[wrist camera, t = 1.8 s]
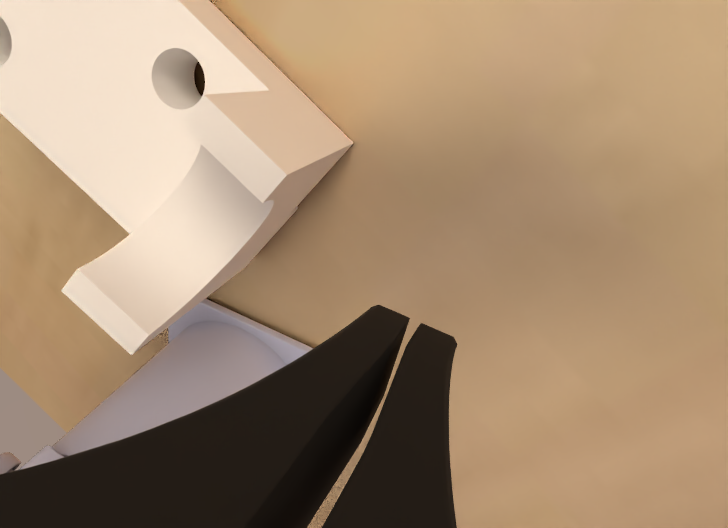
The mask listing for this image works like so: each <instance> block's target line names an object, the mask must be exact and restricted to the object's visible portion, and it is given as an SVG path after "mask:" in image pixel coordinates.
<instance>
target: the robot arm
mask: <svg viewBox="0 0 728 528" xmlns="http://www.w3.org/2000/svg"><path fill="white" fill-rule="evenodd" d="M409 319H410V318H408V317H406V316H404V315H402V314H399V313H397V312H395V311H392V310H390V309H388V308H385V307H383V306H381V305H376V306H373V307H371V308H370V309H369V310H368V311H366V312H365V313H364V314H363V315H361V316H360V317H359V318H357V319H356V320H355V321H353V322H352V323H351V324H349V325H348V326H347V327H345V328H344V329H342V330H341V331H339V332H338V333H337V334H335V335H334V336H332V337H331V338H329V339H328V340H326V341H325V342H323V343H322V344H320V345H318V346H317V347H315V348H311V347H309V346H307V345H305V344H303V343H301V342H298V341H296V340H294V339H292V338H290V337H288V336H285V335H283V334H281V333H279V332H277V331H275V330H272V329H270V328H268V327H266V326H264V325H262V324H260V323H257V322H255V321H253V320H251V319H249V318H247V317H244V316H242V315H240V314H238V313H236V312H234V311H231V310H229V309H227V308H225V307H223V306H221V305H218V304H216V303H214V302H212V301H210V300H208V299H204V300H203V301H201V302H200V303H199V304H197V305H196V306H195V307H194V308H192V309H191V310H190V311H188V312H187V313H186V314H184V315H183V316H182V317H181V318H179V319H178V320H177V321H175V322H174V323H173V324H172V325H170V326H169V327H168V344H167V345H166V346H165V347H164V348H163V349H162V350H161V351H159V352H158V353H157V354H156V355H155V356H154V357H153V358H152V359H150V360H149V361H148V362H147V363H146V364H145V365H144V366H142V367H141V368H140V369H139V370H138V371H137V372H136V373H135V374H133V375H132V376H131V377H130V378H129V379H128V380H127V381H126V382H124V383H123V384H122V385H121V386H120V387H119V388H118V389H116V390H115V391H114V392H113V393H112V394H111V395H110V396H109V397H107V398H106V399H105V400H104V401H103V402H102V403H101V404H99V405H98V406H97V407H96V408H95V409H94V410H93V411H92V412H90V413H89V414H88V415H87V416H86V417H85V418H84V419H82V420H81V421H80V422H79V423H78V424H77V425H76V426H75V427H73V428H72V429H71V430H70V431H69V432H68V433H67V434H66V435H64V436H63V437H62V438H61V439H60V440H59V441H58V442H57V443H55V444H54V445H53V446H52V447H51V446H49V445H47V446H45V447H44V448H43V449H42V450H40V452H38V453H37V454H36V455H35V456H34V457H33V458H31V459H30V460H29V461H28V462H27V463H26V464H24V465H23V466H22V467H21V468H20V469H19V470H17V471H14V470H15V469H16V468H17V467H18V466H19V464H20V463H21V461H19V459H17V458H16V457H15V456H14V455H13V454H12V453H10V452H9V453H3V454H1V455H0V528H307V526H308V525H309V523H310V522H311V520H312V518H313V517H314V515H315V514H316V512H317V511H318V509H319V507H320V506H321V504H322V503H323V501H324V500H325V498H326V496H327V495H328V493H329V492H330V490H331V489H332V487H333V485H334V484H335V482H336V481H337V479H338V478H339V476H340V474H341V473H342V471H343V470H344V468H345V466H346V465H347V463H348V462H349V460H350V459H351V457H352V455H353V454H354V452H355V451H356V449H357V447H358V446H359V444H360V443H361V441H362V439H363V437H364V435H365V433H366V431H367V429H368V427H369V425H370V423H371V421H372V419H373V417H374V415H375V413H376V410H377V408H378V406H379V404H380V402H381V400H382V398H383V396H384V393H385V391H386V388H387V385H388V382H389V379H390V376H391V373H392V370H393V367H394V364H395V361H396V358H397V355H398V352H399V349H400V346H401V343H402V340H403V337H404V334H405V331H406V328H407V325H408V322H409ZM456 347H457V343H456V341H455V339H454V337H452V336H450V335H448V334H446V333H443V332H441V331H439V330H436V329H434V328H432V327H429V326H427V325H425V324H422V323H421V324H420V325H419V327H418V328H417V330H416V331H415V333H414V334H413V336H412V338H411V339H410V341H409V342H408V344H407V346H406V348H405V351H404V353H403V356H402V358H401V361H400V364H399V366H398V369H397V371H396V374H395V376H394V379H393V382H392V384H391V387H390V389H389V392H388V394H387V397H386V400H385V402H384V405H383V407H382V410H381V413H380V415H379V418H378V420H377V423H376V425H375V428H374V431H373V433H372V435H371V437H370V440H369V442H368V444H367V446H366V448H365V450H364V453H363V455H362V456H361V458H360V460H359V462H358V464H357V465H356V467H355V469H354V471H353V473H352V475H351V476H350V478H349V480H348V482H347V484H346V485H345V487H344V489H343V491H342V493H341V494H340V496H339V498H338V500H337V502H336V503H335V505H334V507H333V509H332V510H331V512H330V514H329V516H328V518H327V519H326V521H325V523H324V525H323V526H322V528H457V526H456V519H455V511H454V503H453V493H452V482H451V469H450V453H449V390H450V377H451V369H452V363H453V358H454V353H455V349H456Z"/></svg>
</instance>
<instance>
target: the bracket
mask: <svg viewBox="0 0 728 528" xmlns="http://www.w3.org/2000/svg"><path fill="white" fill-rule="evenodd" d="M197 62H199V63H200V65H201V67H202V69H203V72H204V76H205V89H204V92H203V95H202V96H201V95H200V94H199V92H198V90H197V88H196V85H195V81H194V71H195V67H196V64H197ZM0 113H1V114H2V115H3V116H4V117H5V118H6V119H7V120H9V121H10V122H11V123H12V124H13V125H14V126H15V127H16V128H17V129H18V130H19V131H20V132H21V133H22V134H23V135H25V136H26V137H27V138H28V139H29V140H30V141H31V142H32V143H33V144H34V145H35V146H36V147H37V148H38V149H39V150H41V151H42V152H43V153H44V154H45V155H46V156H47V157H48V158H49V159H50V160H51V161H52V162H53V163H54V164H56V165H57V166H58V167H59V168H60V169H61V170H62V171H63V172H64V173H65V174H66V175H67V176H68V177H69V178H70V179H72V180H73V181H74V182H75V183H76V184H77V185H78V186H79V187H80V188H81V189H82V190H83V191H84V192H85V193H87V194H88V195H89V196H90V197H91V198H92V199H93V200H94V201H95V202H96V203H97V204H98V205H99V206H100V207H101V208H103V209H104V210H105V211H106V212H107V213H108V214H109V215H110V216H111V217H112V218H113V219H114V220H115V221H116V222H118V223H119V224H120V225H121V226H122V227H123V228H124V229H125V230H126V231H127V232H128V233H129V234H130V235H128V236H127V237H126V238H125V239H123V240H122V241H121V242H119V243H118V244H117V245H116V246H114V247H113V248H111V249H110V250H108V251H107V252H106V253H104V254H102V255H101V256H99V257H98V258H96V259H94V260H93V261H91V262H89V263H88V264H86V265H84V266H82V267H80V268H78V269H77V270H76V271H75V273H74V274H73V275H72V277H71V278H70V279H69V281H68V282H67V284H66V285H65V286H64V288H63V289H62V290H61V291H62V292H63V293H64V294H65V295H66V296H67V297H68V298H69V299H71V300H72V301H73V302H74V303H75V304H76V305H77V306H78V307H79V308H80V309H81V310H83V311H84V312H85V313H86V314H87V315H88V316H89V317H90V318H91V319H92V320H93V321H95V322H96V323H97V324H98V325H99V326H100V327H101V328H102V329H103V330H104V331H105V332H107V333H108V334H109V335H110V336H111V337H112V338H113V339H114V340H115V341H116V342H117V343H119V344H120V345H121V346H122V347H123V348H124V349H125V350H126V351H127V352H128V353H129V354H131V355H133V354H134V353H135V352H137V351H138V350H139V349H140V348H142V347H143V346H144V345H146V344H147V343H148V342H149V341H151V340H152V339H153V338H155V337H156V336H157V335H159V334H160V333H161V332H162V331H164V330H165V329H166V328H168V327H169V326H170V325H172V324H173V323H174V322H175V321H177V320H178V319H179V318H181V317H182V316H183V315H184V314H186V313H187V312H188V311H190V310H191V309H192V308H194V307H195V306H196V305H197V304H199V303H200V302H201V301H203V300H204V299H205V298H207V297H208V296H209V295H210V294H212V293H213V292H214V291H216V290H217V289H218V288H220V287H221V286H222V285H223V284H225V283H226V282H227V281H229V280H230V279H231V278H232V277H234V276H235V275H236V274H238V273H239V272H240V271H242V270H243V269H244V268H245V267H246V266H247V265H248V264H249V263H250V262H251V260H252V259H253V258H254V257H255V256H256V255H257V254H258V253H259V252H260V250H261V249H262V248H263V247H264V246H265V245H266V244H267V243H268V242H269V240H270V239H271V238H272V237H273V236H274V235H275V234H276V233H277V232H278V230H279V229H280V228H281V227H282V226H283V225H284V224H285V223H286V222H287V220H288V219H289V218H290V217H291V216H292V215H293V214H294V213H295V212H296V210H297V209H298V207H297V206H298V205H299V203H300V202H301V201H302V200H303V199H304V198H305V197H306V196H307V195H308V193H309V192H310V191H311V190H312V189H313V188H314V187H315V186H316V185H317V183H318V182H319V181H320V180H321V179H322V178H323V177H324V176H325V175H326V173H327V172H328V171H329V170H330V169H331V168H332V167H333V166H334V165H335V163H336V162H337V161H338V160H339V159H340V158H341V157H342V156H343V154H344V153H345V152H346V151H347V150H348V149H349V148H350V147H351V146H352V144H353V142H352V141H351V140H350V139H349V138H348V137H347V136H346V135H345V134H344V133H343V132H342V131H341V130H340V129H339V128H338V127H337V126H336V125H335V124H334V123H333V122H332V121H331V120H330V119H329V118H328V117H327V116H326V115H325V114H324V113H323V112H322V111H321V110H320V109H319V108H318V107H317V106H316V105H315V104H314V103H313V102H312V101H311V100H310V99H309V98H308V97H307V96H306V95H305V94H304V93H303V92H302V91H301V90H300V89H299V88H298V87H297V86H296V85H295V84H294V83H293V82H292V81H291V80H290V79H289V78H288V77H287V76H286V75H284V74H283V73H282V72H281V71H280V70H279V69H278V68H277V67H276V66H275V65H274V64H273V63H272V62H271V61H270V60H269V59H268V58H267V57H266V56H265V55H264V54H263V53H262V52H261V51H260V50H259V49H258V48H257V47H256V46H255V45H254V44H253V43H252V42H251V41H250V40H249V39H248V38H247V37H246V36H245V35H244V34H243V33H242V32H241V31H240V30H239V29H238V28H237V27H236V26H235V25H234V24H233V23H232V22H231V21H230V20H229V19H228V18H227V17H226V16H225V15H224V14H223V13H222V12H221V11H220V10H219V9H218V8H217V7H216V6H215V5H214V4H213V3H212V2H210V1H209V0H0Z"/></svg>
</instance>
